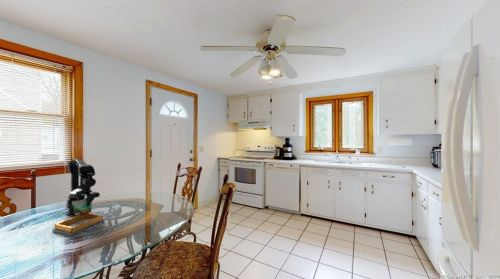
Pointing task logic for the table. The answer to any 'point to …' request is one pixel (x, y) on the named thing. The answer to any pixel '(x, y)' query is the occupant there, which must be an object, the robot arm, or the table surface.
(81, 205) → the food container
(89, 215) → the wooden tray
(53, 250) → the table surface
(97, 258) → the table surface
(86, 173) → the robot arm
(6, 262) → the table surface
